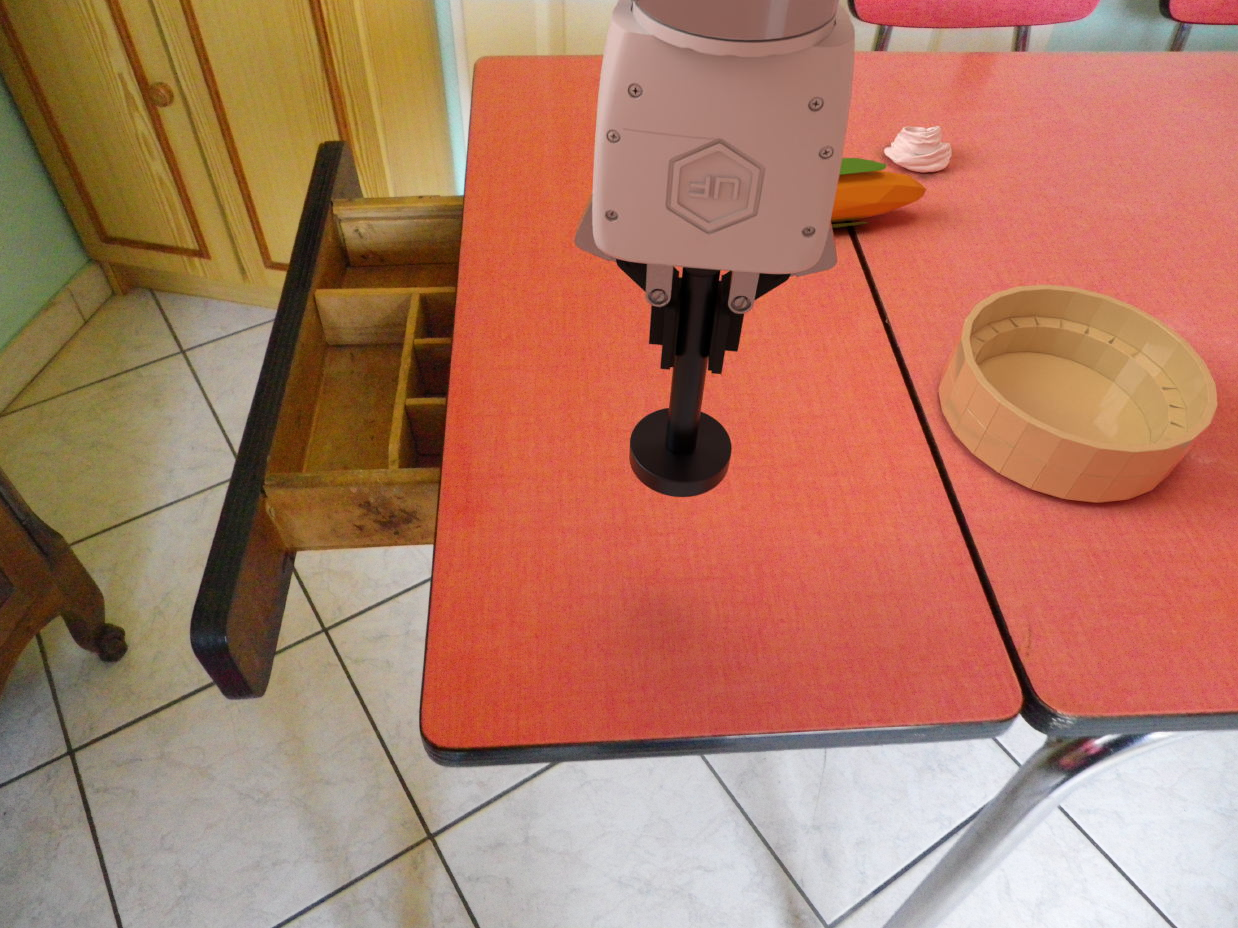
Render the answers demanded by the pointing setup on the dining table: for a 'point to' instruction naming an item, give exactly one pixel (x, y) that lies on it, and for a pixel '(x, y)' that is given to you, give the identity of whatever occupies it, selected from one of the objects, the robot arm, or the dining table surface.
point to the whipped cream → (920, 149)
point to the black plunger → (685, 406)
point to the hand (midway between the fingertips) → (692, 352)
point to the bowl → (1075, 392)
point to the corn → (870, 191)
